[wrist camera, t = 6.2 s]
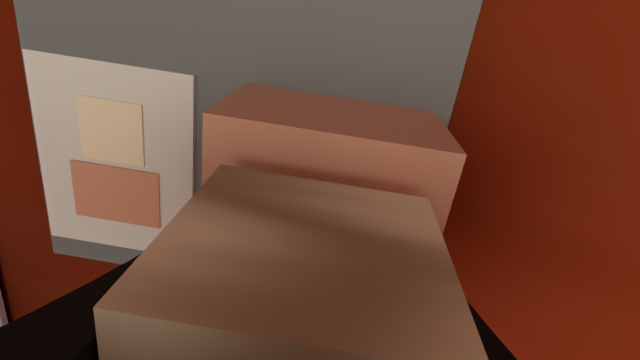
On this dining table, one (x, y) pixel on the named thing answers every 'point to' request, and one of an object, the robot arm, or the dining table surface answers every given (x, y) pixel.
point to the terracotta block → (334, 142)
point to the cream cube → (290, 278)
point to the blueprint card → (112, 146)
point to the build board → (264, 53)
